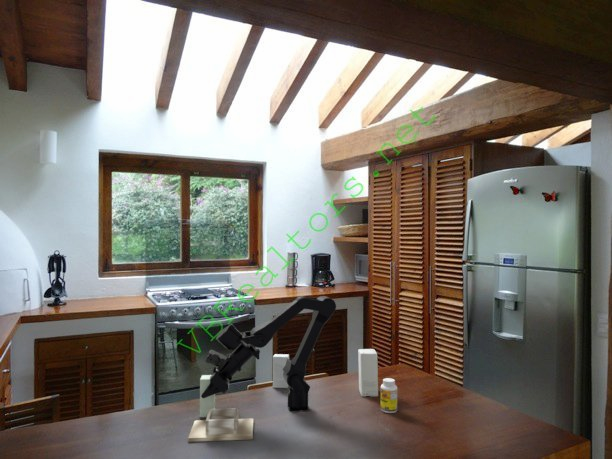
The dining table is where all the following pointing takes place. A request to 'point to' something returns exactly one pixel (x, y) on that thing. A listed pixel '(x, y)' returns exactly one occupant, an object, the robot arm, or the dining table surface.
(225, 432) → the holder
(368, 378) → the skincare box
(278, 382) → the skincare box
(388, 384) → the supplement bottle
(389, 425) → the dining table surface
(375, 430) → the dining table surface
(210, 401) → the peg
